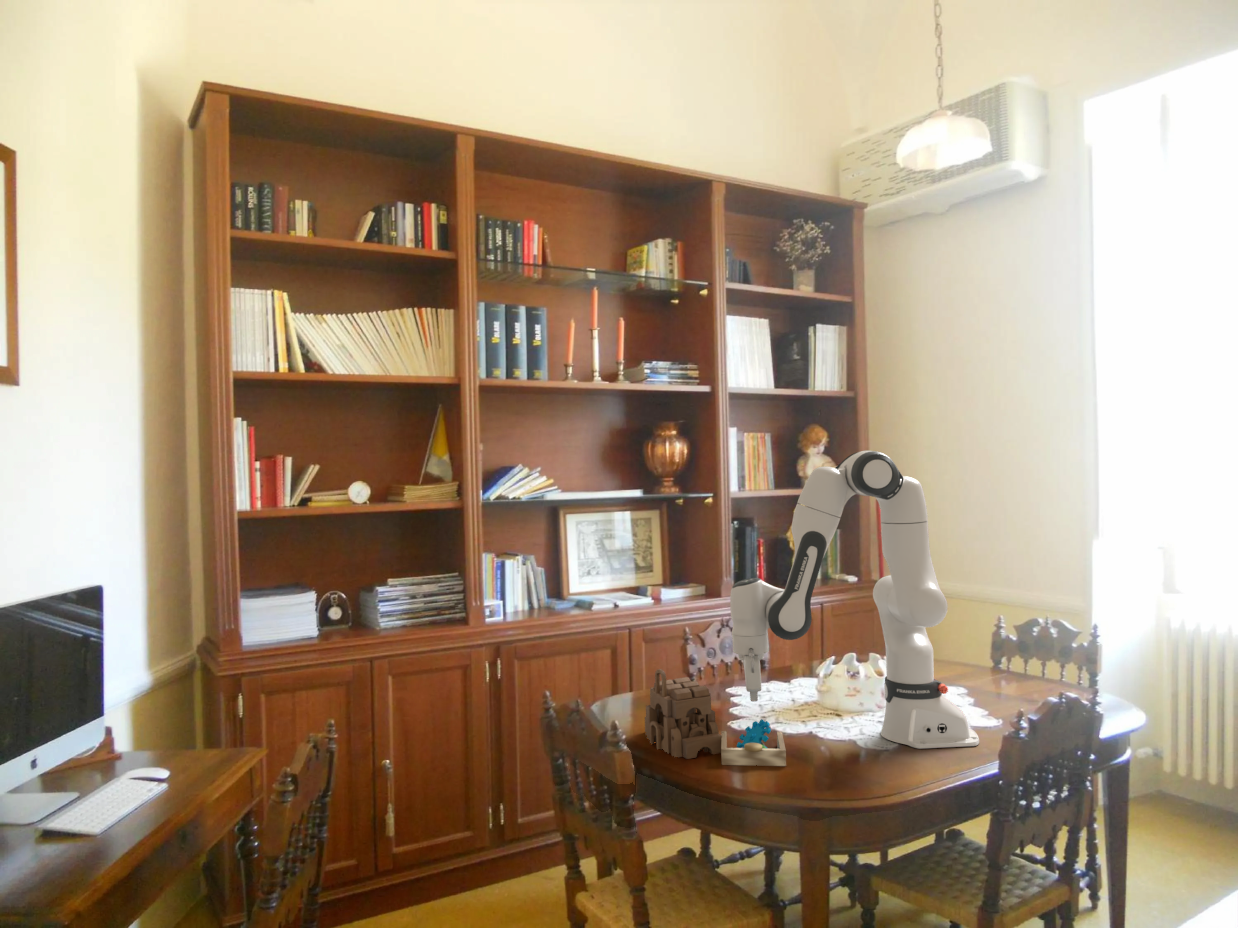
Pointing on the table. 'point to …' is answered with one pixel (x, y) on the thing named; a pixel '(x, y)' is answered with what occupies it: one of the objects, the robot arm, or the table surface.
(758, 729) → the gear
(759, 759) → the drawer
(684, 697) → the wooden puzzle
